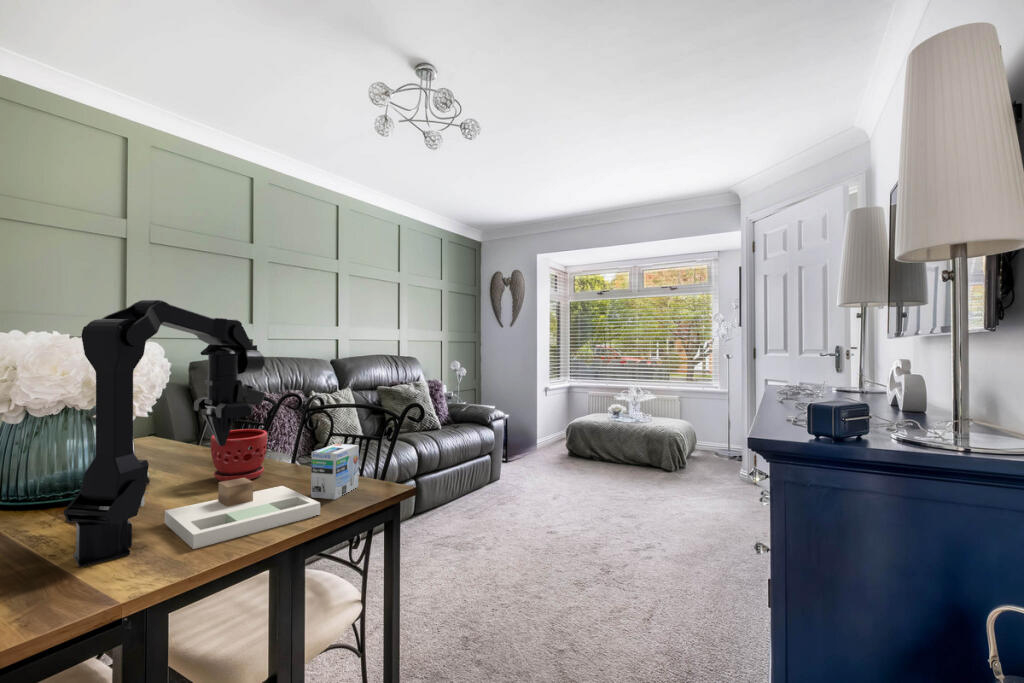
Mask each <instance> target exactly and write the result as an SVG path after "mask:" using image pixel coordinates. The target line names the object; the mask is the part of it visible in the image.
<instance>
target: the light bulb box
mask: <svg viewBox="0 0 1024 683" xmlns="http://www.w3.org/2000/svg"><path fill="white" fill-rule="evenodd" d="M359 451H360V445H359V444H347V443H333V444H331V445H328V446H326V447H323V448H320V449H317V450H314V451H311V462H310V464H311V466H310V467H311V470H310V471H311V472H310V478H311V479H310V480H311V481H310V483H311V484H310V498H312V499H313V498H315V499H327V500H337V499H339V498H341V497H343V496H344V494H345V495H346V493H347V494H348V492H349V493H350V492H352V491H354V490H356V489H358V488H359V458H360V457H359V456H360V452H359ZM357 487H358V488H357ZM355 488H356V489H355ZM353 489H354V490H353ZM351 490H352V491H351ZM342 495H343V496H342Z"/></svg>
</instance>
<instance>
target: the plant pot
mask: <svg viewBox="0 0 1024 683" xmlns="http://www.w3.org/2000/svg"><path fill="white" fill-rule="evenodd" d="M267 443H268V431H267V430H263V429H257V428H245V429H244V428H240V429H239V428H238V429H230V432H229V435H228V438H227V441H226V444H225V445H224V446H219V445H218V443H217V441H216V439H215V437H214V435H213V434H212V435H211V437H210V451H211V452H210V453H211V460H212V463H213V465H214V467H215V469H216V471H214V473H213V476H214V478H215V479H216V480H217V481H219V482H223V481H228V480H234V479H239V478H246V479H248V480H250V481H251V480H252V479H256V478H258V477H260V476H261V475H262V474H263V473H264V470H265V468H264V466H263V462H264V460H265V457H266V454H267ZM249 448H251V449H249Z"/></svg>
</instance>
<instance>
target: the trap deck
mask: <svg viewBox="0 0 1024 683" xmlns="http://www.w3.org/2000/svg"><path fill="white" fill-rule="evenodd" d="M316 515H318V516H320V515H321V502H319V501H317V500H315V499H313V498H312V497H309V496H306V495H304V494H301V493H299V492H297V491H295V490H293V489H291V488H288V487H286V486H284V485H279V486H275V487H269V488H266V489H265V488H264V489H260V490H256V491H253V501H250V502H246V503H242V504H237V505H233V506H228V507H226V506H225V505H223V504H222V503H220V502H218V498H217V499H212V500H209V501H203V502H198V503H194V504H190V505H185V506H180V507H175V508H170V509H165V510H164V524H165V525H166V526H167V527H168V528H169V529H171V531H173V532H174V533H175V534H176V535H177V536H178V537H179V538H180V539H181V540H182V541H184V542H185V543H186V544H187V545H188V546H189V547H190V548H191V549H193V550H195V549H199V548H203V547H206V546H210V545H213V544H218V543H222V542H224V541H229V540H232V539H233V540H234V539H237V538H239V537H244V536H246V535H251V534H255V533H258V532H263V531H266V530H268V529H272V528H277V527H281V526H284V525H287V524H291V523H295V522H299V521H303V520H307V519H310V518H313V516H314V517H317V516H316Z"/></svg>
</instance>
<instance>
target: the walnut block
mask: <svg viewBox="0 0 1024 683" xmlns="http://www.w3.org/2000/svg"><path fill="white" fill-rule="evenodd" d="M253 492H254V481H252V480H251V479H250V480H248V479H246V478H239V479H234V480H228V481H219V482H218V491H217V494H218V495H217V499H218V502H220V503H222V504H223V505H225V506H226V507H228V506H233V505H237V504H242V503H246V502H250V501H253Z"/></svg>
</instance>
